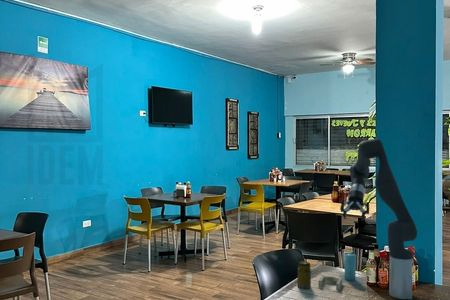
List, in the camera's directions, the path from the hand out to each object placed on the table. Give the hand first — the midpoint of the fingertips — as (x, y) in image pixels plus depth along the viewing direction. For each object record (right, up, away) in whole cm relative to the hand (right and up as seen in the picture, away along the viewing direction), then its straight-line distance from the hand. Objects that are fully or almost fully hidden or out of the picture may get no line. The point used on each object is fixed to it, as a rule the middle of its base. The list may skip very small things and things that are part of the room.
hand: (353, 218), depth 205 cm
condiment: (-29, -29, -20) cm, 46 cm away
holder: (-17, -29, -18) cm, 38 cm away
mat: (-5, -29, -9) cm, 31 cm away
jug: (-5, -28, -10) cm, 30 cm away
